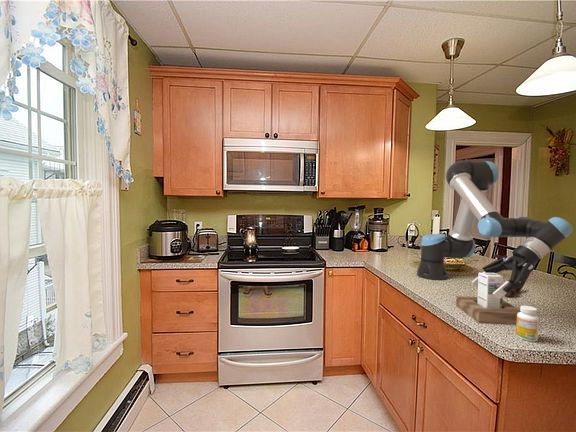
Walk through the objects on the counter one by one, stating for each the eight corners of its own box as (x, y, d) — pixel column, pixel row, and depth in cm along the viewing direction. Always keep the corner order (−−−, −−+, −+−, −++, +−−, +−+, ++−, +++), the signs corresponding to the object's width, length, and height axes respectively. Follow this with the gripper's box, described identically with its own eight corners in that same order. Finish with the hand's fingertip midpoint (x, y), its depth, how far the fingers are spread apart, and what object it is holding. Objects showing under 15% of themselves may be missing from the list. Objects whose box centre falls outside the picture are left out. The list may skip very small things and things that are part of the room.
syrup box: (486, 314, 107) (488, 275, 106) (476, 308, 113) (478, 271, 112) (502, 315, 106) (504, 276, 106) (491, 308, 112) (493, 272, 111)
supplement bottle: (522, 332, 95) (523, 303, 94) (541, 340, 90) (543, 309, 89) (511, 335, 93) (513, 305, 92) (531, 343, 88) (533, 312, 87)
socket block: (456, 305, 118) (456, 296, 118) (497, 307, 117) (498, 297, 116) (478, 322, 102) (479, 311, 102) (526, 324, 101) (527, 313, 100)
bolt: (504, 301, 129) (512, 293, 139) (516, 298, 126) (524, 290, 136) (496, 288, 131) (505, 281, 141) (509, 285, 128) (517, 278, 137)
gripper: (500, 239, 119) (460, 274, 121) (550, 250, 94) (498, 294, 97) (513, 252, 119) (473, 287, 121) (566, 267, 94) (514, 310, 96)
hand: (484, 290), depth 109 cm, fingers open, 13 cm apart
